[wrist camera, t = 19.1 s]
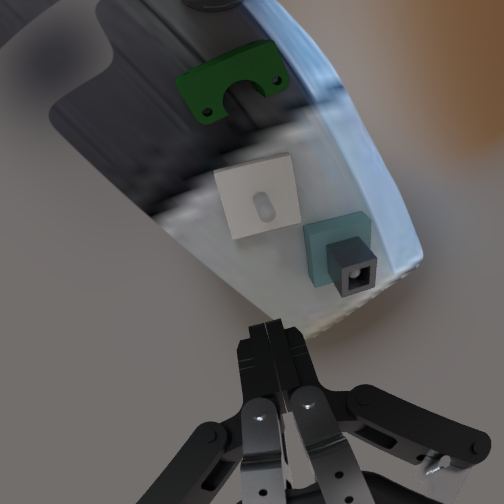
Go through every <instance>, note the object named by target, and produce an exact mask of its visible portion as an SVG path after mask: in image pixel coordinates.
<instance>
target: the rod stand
mask: <svg viewBox="0 0 504 504" xmlns="http://www.w3.org/2000/svg"><path fill="white" fill-rule="evenodd" d="M214 177H215V180H216V184H217V187H218V191H219V194H220V197H221V201H222V204H223V208H224V211H225V215H226V218H227V221H228V225H229V228H230V232H231V235H232V238H233V240H235V239H239V238H243V237H247V236H250V235H254V234H258V233H262V232H266V231H270V230H274V229H278V228H282V227H286V226H290V225H294V224H297V223H301V215H300V208H299V202H298V195H297V189H296V183H295V177H294V171H293V165H292V159H291V155H290V154H289V153H283V154H279V155H274V156H270V157H265V158H261V159H257V160H252V161H248V162H244V163H240V164H236V165H232V166H228V167H225V168H221V169H217V170H214Z"/></svg>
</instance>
